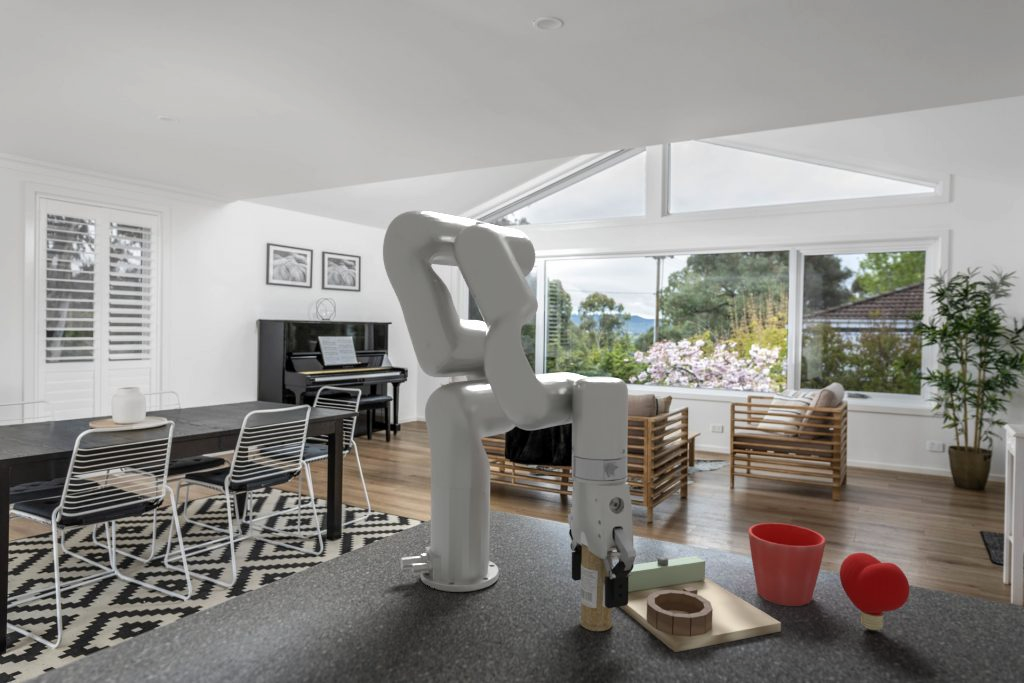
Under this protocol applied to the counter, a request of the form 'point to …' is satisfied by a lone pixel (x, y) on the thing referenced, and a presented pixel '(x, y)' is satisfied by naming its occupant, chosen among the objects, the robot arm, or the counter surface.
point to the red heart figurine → (873, 587)
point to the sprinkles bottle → (593, 591)
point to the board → (697, 615)
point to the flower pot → (785, 562)
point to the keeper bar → (666, 573)
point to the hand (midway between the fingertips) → (598, 591)
